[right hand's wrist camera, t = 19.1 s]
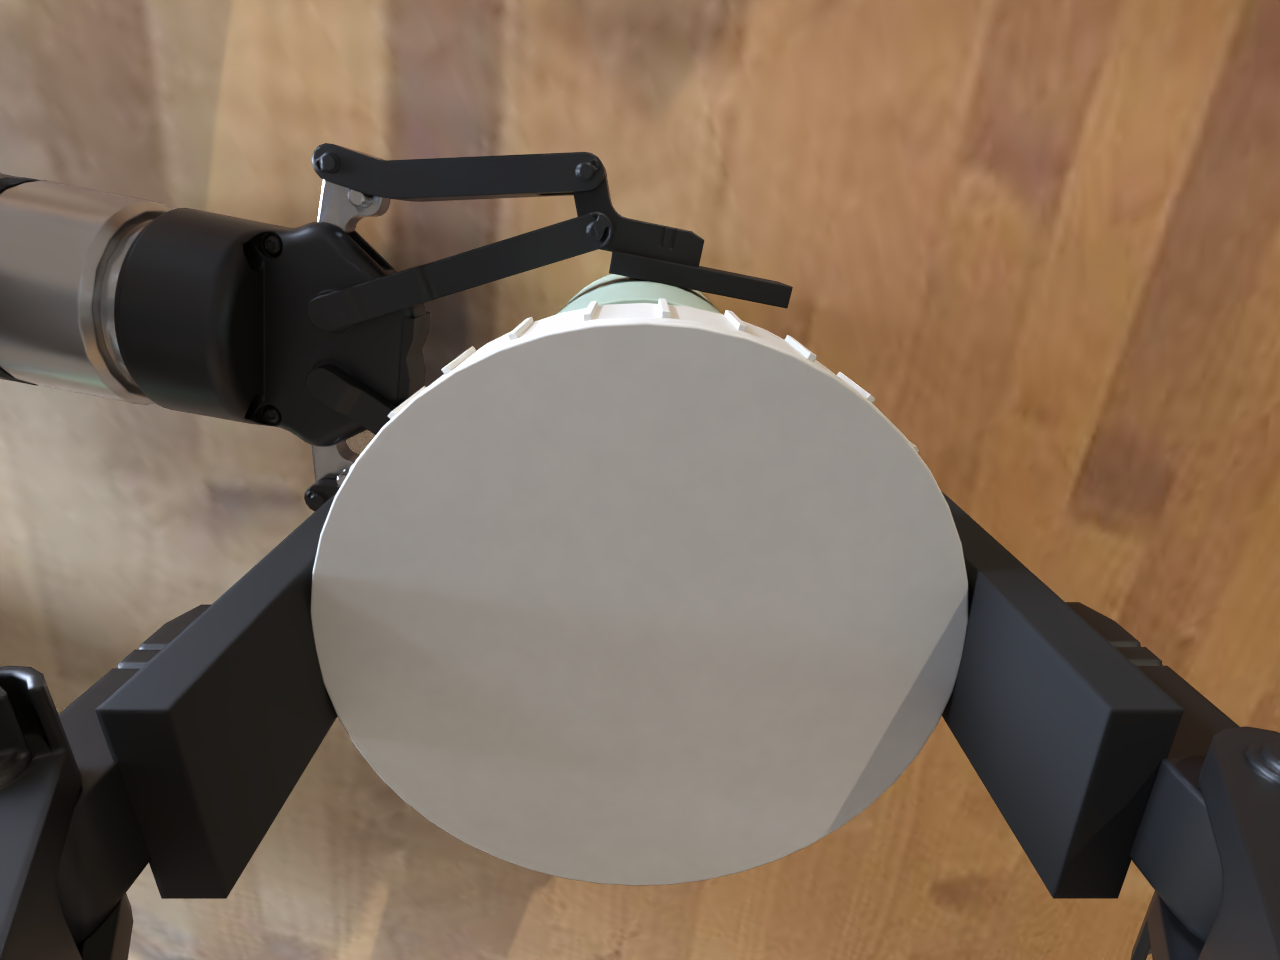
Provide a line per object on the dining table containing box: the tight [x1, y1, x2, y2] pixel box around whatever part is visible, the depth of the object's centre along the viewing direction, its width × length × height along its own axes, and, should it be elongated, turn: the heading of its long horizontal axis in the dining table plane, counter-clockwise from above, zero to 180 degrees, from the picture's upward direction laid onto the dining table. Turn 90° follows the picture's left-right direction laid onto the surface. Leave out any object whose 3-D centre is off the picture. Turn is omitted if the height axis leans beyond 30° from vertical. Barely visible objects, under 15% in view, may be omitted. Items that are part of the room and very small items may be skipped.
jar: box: [556, 274, 721, 315], centre depth 25 cm, size 9×9×16 cm
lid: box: [311, 298, 968, 886], centre depth 11 cm, size 10×10×2 cm
